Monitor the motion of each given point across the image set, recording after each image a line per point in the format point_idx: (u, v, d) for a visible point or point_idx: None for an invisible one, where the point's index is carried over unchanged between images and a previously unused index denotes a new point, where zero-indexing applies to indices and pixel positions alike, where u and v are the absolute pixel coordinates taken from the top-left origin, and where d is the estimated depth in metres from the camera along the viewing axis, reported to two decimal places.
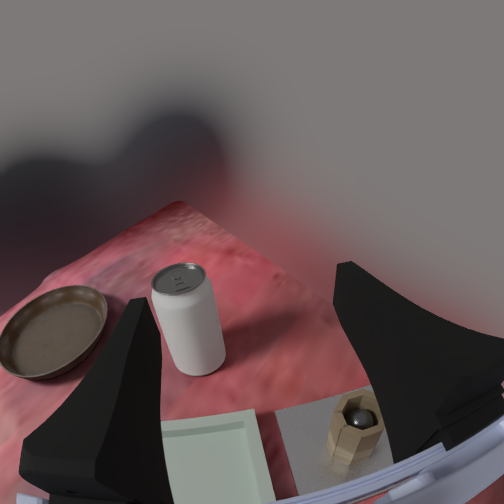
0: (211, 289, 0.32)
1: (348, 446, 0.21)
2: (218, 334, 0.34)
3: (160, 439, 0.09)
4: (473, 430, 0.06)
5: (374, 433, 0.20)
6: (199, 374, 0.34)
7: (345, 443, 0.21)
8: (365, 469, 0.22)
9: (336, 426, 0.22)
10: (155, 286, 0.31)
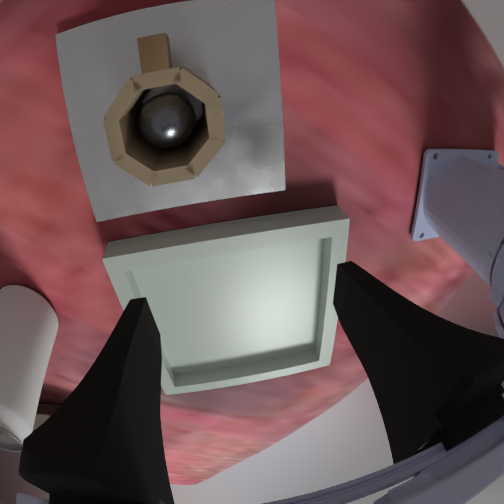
0: None
1: None
2: (4, 326, 0.17)
3: (160, 439, 0.09)
4: (473, 430, 0.06)
5: (222, 114, 0.11)
6: (54, 314, 0.22)
7: None
8: (229, 94, 0.16)
9: None
10: (12, 446, 0.14)
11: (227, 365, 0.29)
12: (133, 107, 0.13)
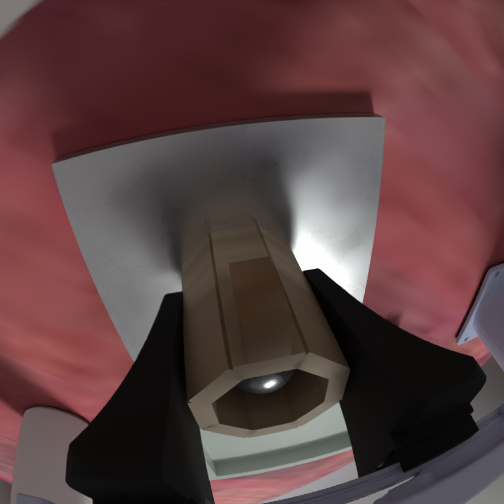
0: None
1: None
2: (49, 464, 0.14)
3: (199, 435, 0.09)
4: (434, 452, 0.06)
5: None
6: None
7: None
8: (313, 257, 0.13)
9: None
10: None
11: (267, 454, 0.26)
12: None
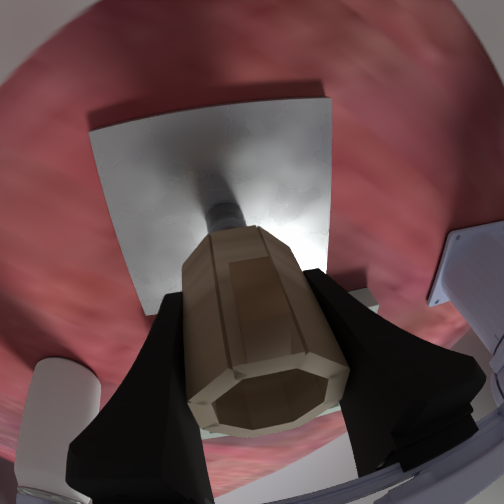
0: (36, 469, 0.13)
1: None
2: (57, 405, 0.18)
3: (199, 435, 0.09)
4: (434, 452, 0.06)
5: None
6: (98, 382, 0.23)
7: None
8: (281, 205, 0.17)
9: None
10: None
11: None
12: None
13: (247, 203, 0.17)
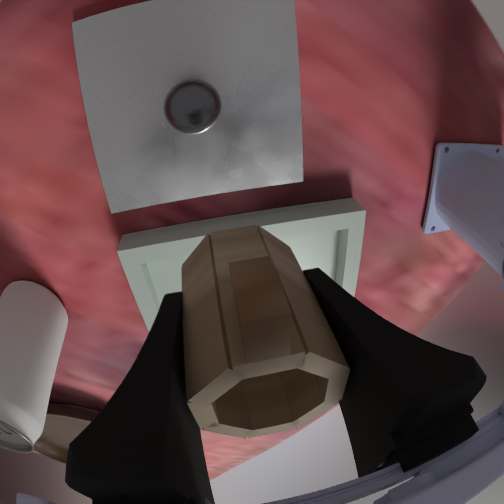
0: None
1: None
2: (13, 322, 0.17)
3: (199, 435, 0.09)
4: (434, 452, 0.06)
5: None
6: (64, 310, 0.22)
7: None
8: (249, 84, 0.16)
9: None
10: (22, 446, 0.14)
11: None
12: None
13: (215, 81, 0.15)
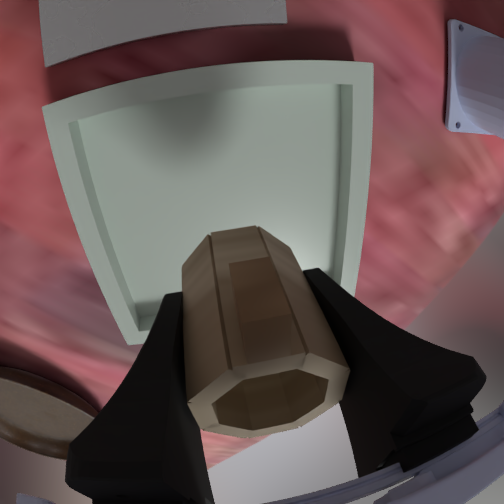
0: None
1: None
2: None
3: (199, 435, 0.09)
4: (434, 452, 0.06)
5: None
6: None
7: None
8: None
9: None
10: None
11: None
12: None
13: None
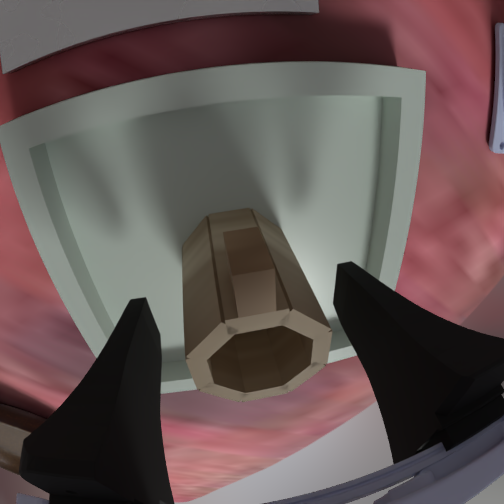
0: None
1: None
2: None
3: (160, 439, 0.09)
4: (473, 430, 0.06)
5: None
6: None
7: None
8: None
9: None
10: None
11: None
12: None
13: None
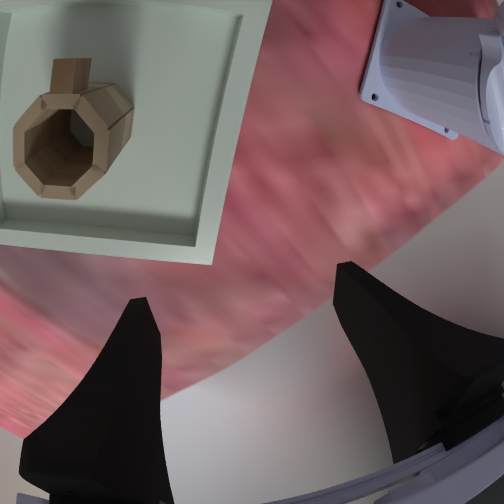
0: None
1: None
2: None
3: (160, 439, 0.09)
4: (473, 430, 0.06)
5: (108, 146, 0.11)
6: None
7: None
8: None
9: None
10: None
11: (68, 219, 0.18)
12: (52, 116, 0.12)
13: None
